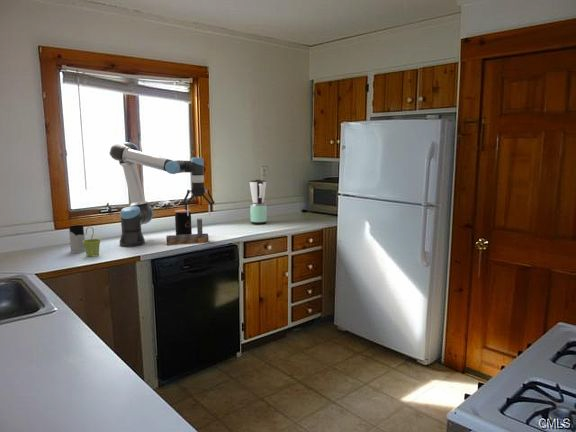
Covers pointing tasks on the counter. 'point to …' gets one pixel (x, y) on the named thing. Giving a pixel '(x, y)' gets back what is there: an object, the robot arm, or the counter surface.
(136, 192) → the robot arm
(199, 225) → the fader
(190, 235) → the block
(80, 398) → the counter surface
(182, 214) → the coffee jar
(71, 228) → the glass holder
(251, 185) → the mint green blender
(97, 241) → the plant pot
